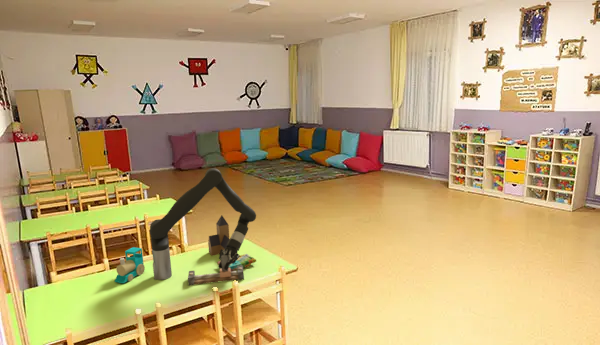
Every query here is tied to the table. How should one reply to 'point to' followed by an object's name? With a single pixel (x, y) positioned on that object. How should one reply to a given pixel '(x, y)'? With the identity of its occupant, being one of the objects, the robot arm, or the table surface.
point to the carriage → (222, 271)
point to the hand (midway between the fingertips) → (222, 268)
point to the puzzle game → (241, 262)
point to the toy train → (130, 266)
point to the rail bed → (214, 277)
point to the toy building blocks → (219, 237)
